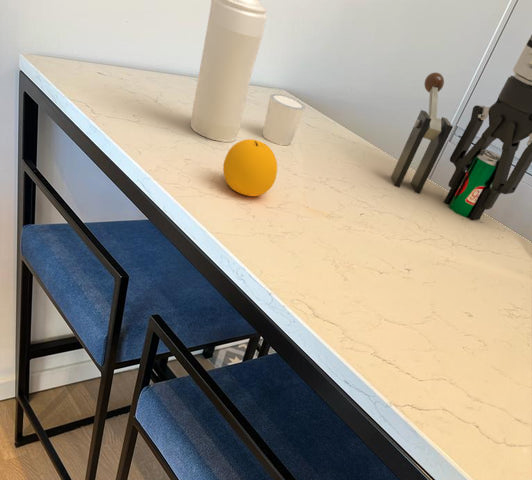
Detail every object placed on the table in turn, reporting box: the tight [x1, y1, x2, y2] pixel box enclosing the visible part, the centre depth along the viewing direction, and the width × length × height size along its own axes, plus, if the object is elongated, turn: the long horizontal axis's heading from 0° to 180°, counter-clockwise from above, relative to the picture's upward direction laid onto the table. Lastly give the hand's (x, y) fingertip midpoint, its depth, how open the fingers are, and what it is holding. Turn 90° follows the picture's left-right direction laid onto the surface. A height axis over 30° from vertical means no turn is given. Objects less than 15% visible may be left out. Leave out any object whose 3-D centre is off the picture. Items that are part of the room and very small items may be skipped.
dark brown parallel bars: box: [390, 109, 454, 195], centre depth 102 cm, size 10×8×14 cm
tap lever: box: [423, 72, 445, 141], centre depth 101 cm, size 14×3×3 cm, turn 178°
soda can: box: [447, 149, 501, 219], centre depth 101 cm, size 5×5×12 cm
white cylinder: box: [262, 93, 306, 146], centre depth 105 cm, size 7×7×7 cm
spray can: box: [190, 0, 268, 143], centre depth 92 cm, size 12×11×25 cm
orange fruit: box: [222, 138, 278, 197], centre depth 83 cm, size 8×8×8 cm
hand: (459, 213), depth 104 cm, fingers closed on soda can, 5 cm apart
